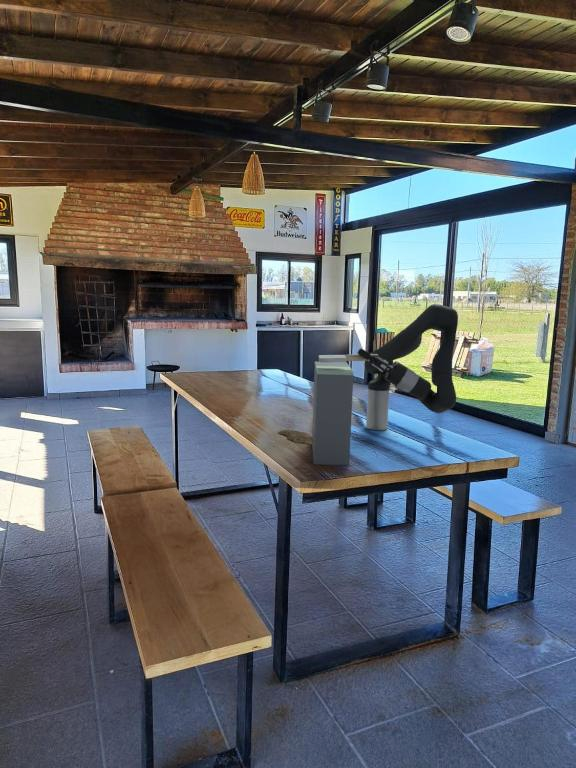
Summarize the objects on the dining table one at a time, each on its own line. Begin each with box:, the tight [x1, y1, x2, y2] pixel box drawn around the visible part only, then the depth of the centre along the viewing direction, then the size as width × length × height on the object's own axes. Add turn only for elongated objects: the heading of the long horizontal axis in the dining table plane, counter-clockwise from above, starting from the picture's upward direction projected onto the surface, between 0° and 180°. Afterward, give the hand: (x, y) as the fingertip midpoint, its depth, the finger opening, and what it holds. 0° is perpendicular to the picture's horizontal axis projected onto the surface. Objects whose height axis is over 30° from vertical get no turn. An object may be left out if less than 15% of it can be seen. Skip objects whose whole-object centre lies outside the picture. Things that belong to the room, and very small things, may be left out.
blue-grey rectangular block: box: [311, 361, 354, 466], centre depth 196 cm, size 26×12×32 cm, turn 179°
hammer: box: [318, 353, 378, 363], centre depth 187 cm, size 8×20×2 cm, turn 89°
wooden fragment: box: [277, 428, 312, 446], centre depth 219 cm, size 26×11×1 cm, turn 24°
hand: (359, 351), depth 186 cm, fingers closed on hammer, 2 cm apart
